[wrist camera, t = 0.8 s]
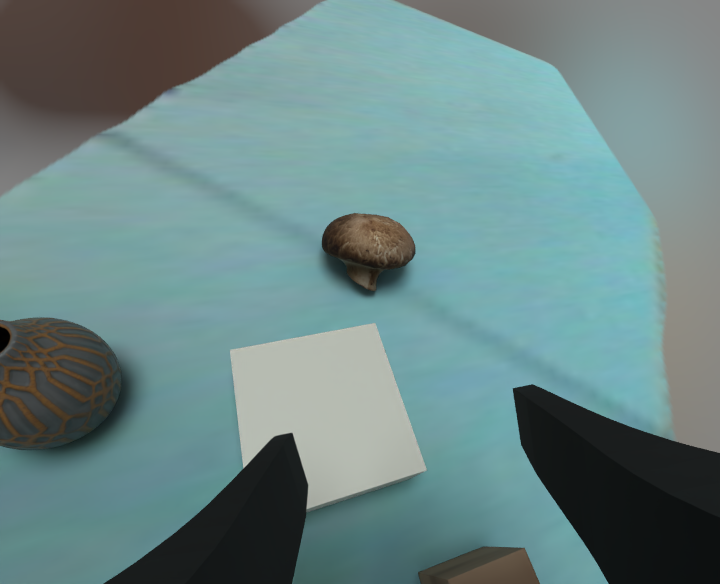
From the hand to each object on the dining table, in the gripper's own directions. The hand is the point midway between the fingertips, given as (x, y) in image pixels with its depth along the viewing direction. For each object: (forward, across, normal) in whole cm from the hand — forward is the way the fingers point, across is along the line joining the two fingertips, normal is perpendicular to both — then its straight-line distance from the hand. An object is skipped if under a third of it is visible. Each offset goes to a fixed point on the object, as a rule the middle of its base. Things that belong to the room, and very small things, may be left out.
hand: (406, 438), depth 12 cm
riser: (+13, +6, +6) cm, 15 cm away
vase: (+11, +21, +1) cm, 23 cm away
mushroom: (+24, +1, -2) cm, 24 cm away
